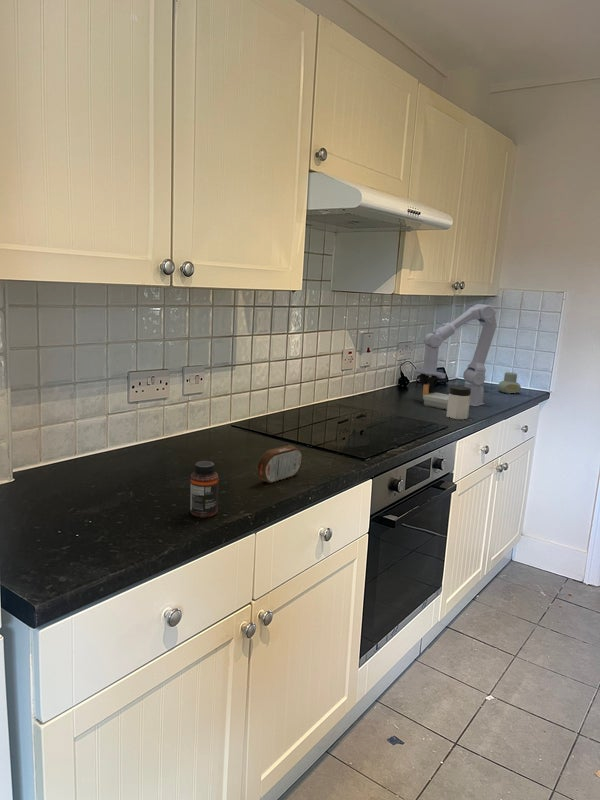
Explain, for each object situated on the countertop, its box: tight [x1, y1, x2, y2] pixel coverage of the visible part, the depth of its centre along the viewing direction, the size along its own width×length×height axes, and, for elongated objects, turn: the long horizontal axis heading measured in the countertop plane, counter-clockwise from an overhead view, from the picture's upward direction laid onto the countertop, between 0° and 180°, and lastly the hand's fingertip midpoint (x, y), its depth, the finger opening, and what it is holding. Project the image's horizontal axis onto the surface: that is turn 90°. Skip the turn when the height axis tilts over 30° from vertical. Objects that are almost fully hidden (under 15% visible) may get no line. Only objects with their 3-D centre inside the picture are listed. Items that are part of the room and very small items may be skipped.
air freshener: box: [497, 371, 522, 394], centre depth 303 cm, size 11×8×10 cm
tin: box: [256, 444, 304, 484], centre depth 155 cm, size 15×3×8 cm, turn 139°
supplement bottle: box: [189, 460, 219, 518], centre depth 130 cm, size 6×6×11 cm
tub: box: [423, 399, 448, 411], centre depth 259 cm, size 10×16×4 cm, turn 50°
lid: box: [422, 383, 471, 404], centre depth 259 cm, size 11×19×6 cm, turn 50°
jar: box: [445, 385, 471, 420], centre depth 240 cm, size 9×8×12 cm
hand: (427, 392), depth 264 cm, fingers closed on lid, 2 cm apart
